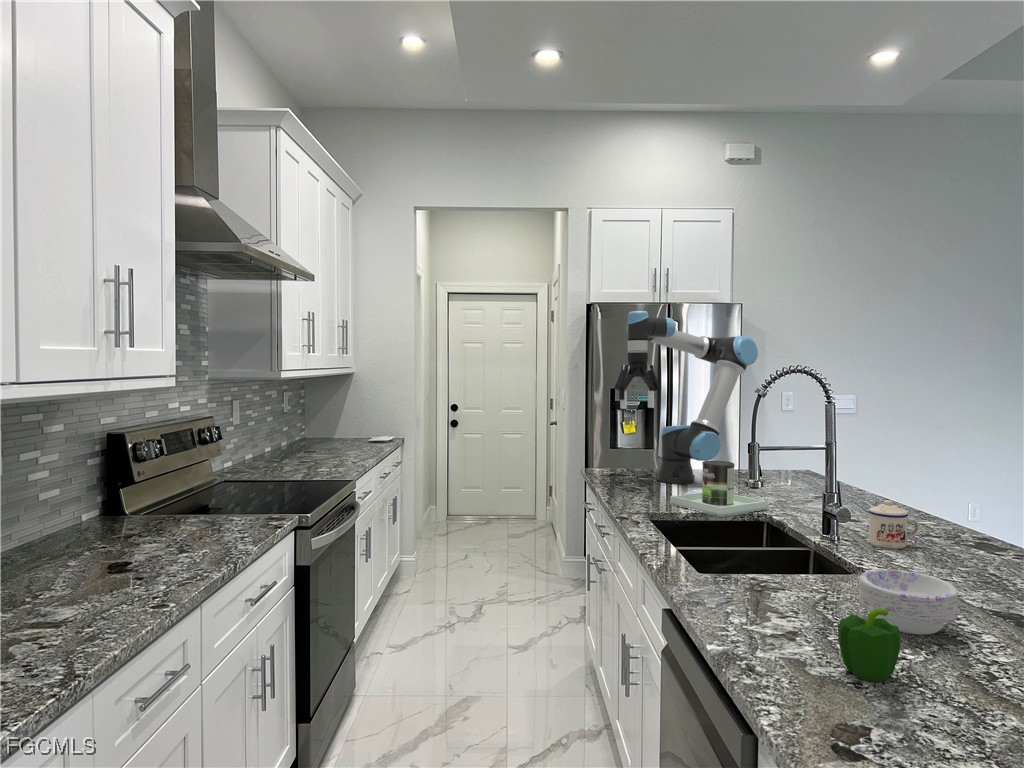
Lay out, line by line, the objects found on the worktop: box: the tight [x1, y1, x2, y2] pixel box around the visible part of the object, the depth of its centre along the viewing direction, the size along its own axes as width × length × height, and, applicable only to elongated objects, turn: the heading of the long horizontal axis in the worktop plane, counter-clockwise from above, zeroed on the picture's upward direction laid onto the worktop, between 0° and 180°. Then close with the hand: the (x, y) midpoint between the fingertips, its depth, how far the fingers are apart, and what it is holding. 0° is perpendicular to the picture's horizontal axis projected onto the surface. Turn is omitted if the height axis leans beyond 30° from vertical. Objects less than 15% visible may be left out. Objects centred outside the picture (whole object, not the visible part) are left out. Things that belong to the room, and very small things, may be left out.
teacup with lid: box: [868, 499, 920, 550], centre depth 171 cm, size 12×9×12 cm
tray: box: [669, 491, 769, 518], centre depth 218 cm, size 22×22×3 cm
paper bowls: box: [858, 569, 959, 636], centre depth 117 cm, size 15×15×8 cm
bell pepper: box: [837, 608, 902, 683], centre depth 97 cm, size 8×8×10 cm
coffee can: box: [701, 460, 736, 507], centre depth 218 cm, size 10×10×14 cm
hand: (637, 408), depth 246 cm, fingers open, 13 cm apart
